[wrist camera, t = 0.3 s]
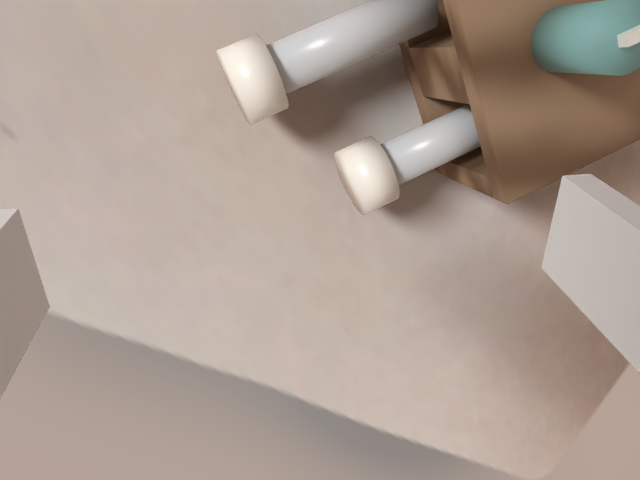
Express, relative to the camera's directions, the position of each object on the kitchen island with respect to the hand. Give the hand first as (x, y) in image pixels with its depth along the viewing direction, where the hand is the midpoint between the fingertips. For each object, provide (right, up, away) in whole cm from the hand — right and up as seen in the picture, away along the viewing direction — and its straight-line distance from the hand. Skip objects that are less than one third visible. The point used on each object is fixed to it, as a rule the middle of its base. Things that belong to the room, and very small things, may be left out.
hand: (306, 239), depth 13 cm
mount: (+12, +15, +26) cm, 32 cm away
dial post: (+14, +12, +17) cm, 25 cm away
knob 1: (0, +13, +21) cm, 24 cm away
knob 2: (+8, +7, +25) cm, 27 cm away
